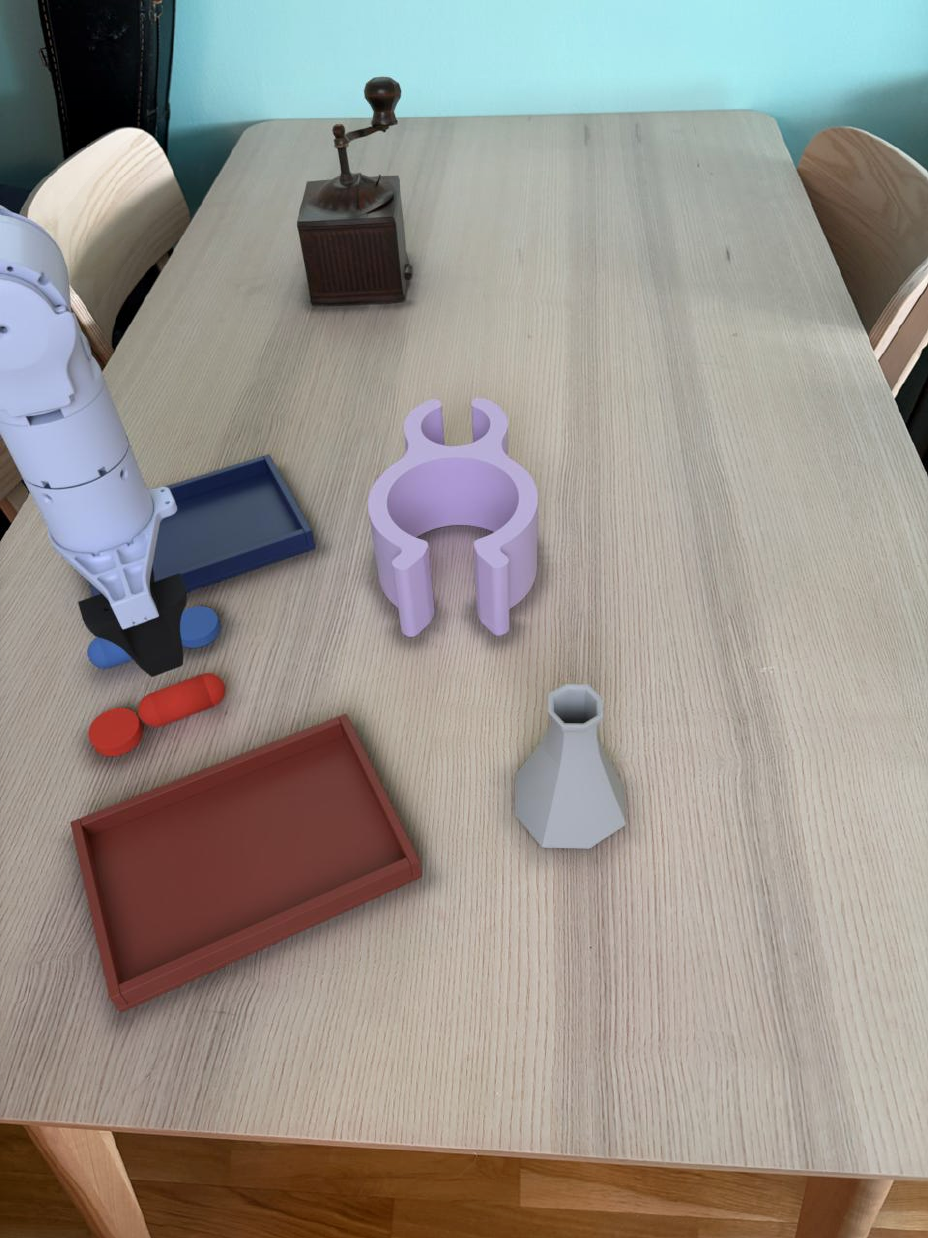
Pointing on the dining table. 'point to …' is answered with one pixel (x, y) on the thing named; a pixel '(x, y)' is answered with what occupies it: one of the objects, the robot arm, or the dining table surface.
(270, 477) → the blue tray
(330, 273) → the manual coffee grinder
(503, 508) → the clip
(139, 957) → the red tray
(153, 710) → the red disc-ended bar
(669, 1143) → the dining table surface
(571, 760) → the flask
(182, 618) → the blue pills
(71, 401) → the robot arm
